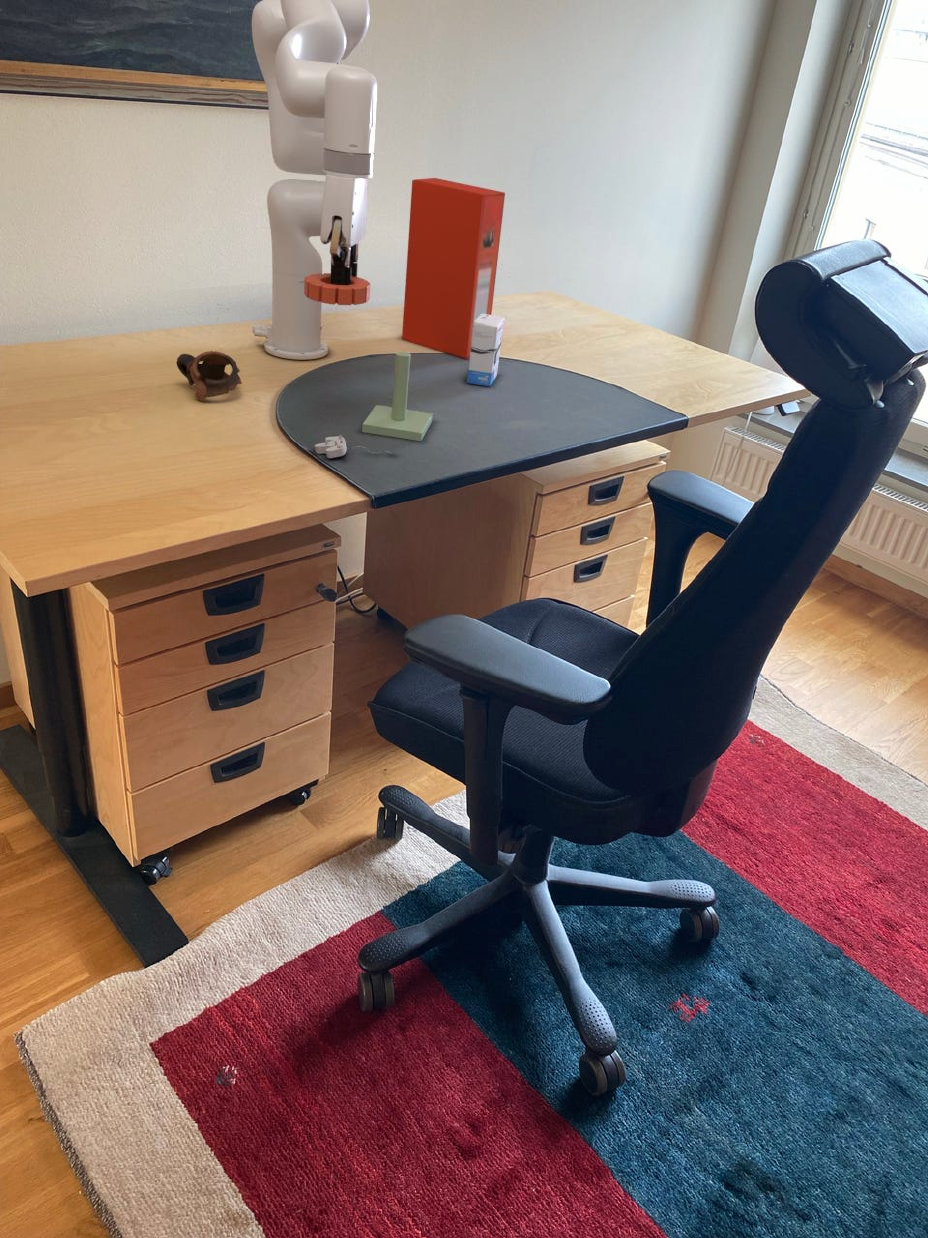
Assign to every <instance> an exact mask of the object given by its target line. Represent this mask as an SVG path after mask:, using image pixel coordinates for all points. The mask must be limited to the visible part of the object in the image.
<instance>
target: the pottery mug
mask: <svg viewBox="0 0 928 1238" xmlns="http://www.w3.org/2000/svg"><path fill="white" fill-rule="evenodd" d="M229 365H230V367H231V372H230V374H229V373H227V372H226V371H225V370H226V367H227V366H229ZM176 368H177V369H178V370H179V372H180V373H181V375H183V376H184V377H185V378H186V379H187V381H188V384H189V386H193V385H195V386H196V389H195V392H194V396H195V398H196V399H197V400H199V401H200V402H205V400H206V398H214V397H217V396H222V395H227V394H229V393H230V391H233V390H235V388H236V387H237V386H238V385H242V384H243V382H242V379H241V377H240V376H239V373H240V372H241V370H240V368H239V367H238V366H237V362H236V361H235V360H234V359H233V358H232V357H231V356H229V355H228V354H226V353H223V352H220V351H214V350H210V351H209V350H208V351H204V352H202V353H200V354H197V356H196V357H195V356H193V355H192V354H189V353H181V354H180V355H179V356H178V357H176Z"/></svg>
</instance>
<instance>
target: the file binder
mask: <svg viewBox="0 0 928 1238" xmlns="http://www.w3.org/2000/svg"><path fill="white" fill-rule="evenodd" d="M410 192H411V194H410V206H409V207H410V210H409V223H408V239H407V253H406V254H407V255H406V268H405V269H406V270H405V287H404V301H403V303H404V304H403V315H402V317H403V318H402V329H401V330H402V332H401V339H402V340H403V341H406V342H409V343H412V344H416V345H418V346H422V347H426V348H428V349H431V350H435V351H439V352H442V353H444V354H448V355H451V356H454V357H458V358H461V359H464V360H469V359H470V351H471V342H472V333H473V324H474V321H475V320H476V319H477V317H479V315H481V314H488V315H492V313H493V306H494V305H493V303H494V295H495V288H496V287H495V286H496V277H497V269H498V259H499V249H500V244H501V243H500V241H501V234H502V224H503V214H504V206H505V197H506V192H504V191H500V190H495V189H490V188H486V187H485V188H484V187H481V186H475V185H472V184H466V183H462V182H456V181H451V180H447V179H443V178H438V177H430V178H427V177H426V178H416V179H413V180H411V191H410Z"/></svg>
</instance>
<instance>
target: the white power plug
mask: <svg viewBox="0 0 928 1238" xmlns="http://www.w3.org/2000/svg"><path fill="white" fill-rule="evenodd" d="M360 447H361V448H362V446H359V445H358V446H354V447H353V449H355V448H360ZM363 448H364V449H367V452H370V453H372V454H375V452H374V451H369V450H368V448H367V447H365V446H363ZM314 450H315V454H318V455H320V454H325V455H326V458H327V459H333V458H339V457H343V456H345V455H346V453H347V451H348V447H347V442H346V439H345V438H344V437H343V436H342V434H339V435H338V436H337V435H336V436H327V437H325V439H324V442H320V443H316V444H314ZM386 452H388V453H391V456H392V455H393V454H392V452H390V451H387V450H386ZM379 453H380V451H379V452H377V454H379Z"/></svg>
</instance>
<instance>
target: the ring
mask: <svg viewBox="0 0 928 1238" xmlns="http://www.w3.org/2000/svg"><path fill="white" fill-rule="evenodd" d="M330 279H331V272H328V273H327V272H323V273H322V274H321V273H319V274H311V275H308V276H307V277H305V279H304V295H305V296H306V297H307V298H309V299H311V300H314V301H317V302H320V301H321V304H328V305H333V306H334V305H336V304H337V305H338V306H352V305H354V306H359V305H363V304H366V303H368V302H370V299H371V298H370V297H371V283H370V282H369V281H368V280H367V279H365V278H362V277H358V276H357V277H353V276H351V285H333V284H330Z"/></svg>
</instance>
